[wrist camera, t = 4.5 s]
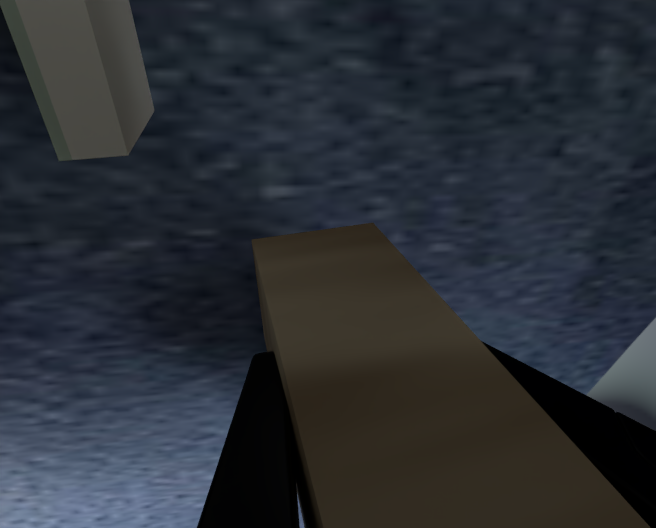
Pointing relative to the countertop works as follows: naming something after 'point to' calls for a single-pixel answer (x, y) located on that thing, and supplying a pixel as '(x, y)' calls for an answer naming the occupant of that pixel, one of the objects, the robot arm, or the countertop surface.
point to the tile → (83, 73)
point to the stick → (409, 401)
